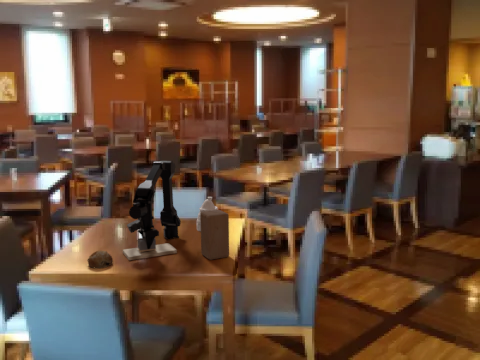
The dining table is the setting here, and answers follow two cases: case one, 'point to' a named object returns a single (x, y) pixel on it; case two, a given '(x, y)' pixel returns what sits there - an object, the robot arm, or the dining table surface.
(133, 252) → the board
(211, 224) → the wooden block
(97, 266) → the brown dome
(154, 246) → the block
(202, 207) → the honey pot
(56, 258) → the dining table surface
